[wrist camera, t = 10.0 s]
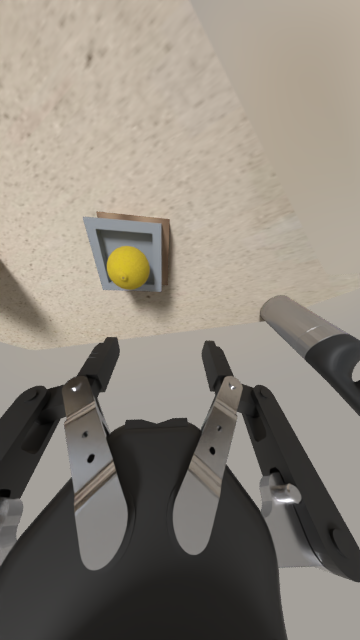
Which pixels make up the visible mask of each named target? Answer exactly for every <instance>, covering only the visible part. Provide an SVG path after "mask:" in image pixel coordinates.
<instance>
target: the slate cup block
mask: <svg viewBox="0 0 360 640" xmlns="http://www.w3.org/2000/svg"><path fill="white" fill-rule="evenodd" d="M83 220H84V224H85V227H86V231H87V235H88V238H89V242H90V245H91V249H92V252H93V256H94V259H95V263H96V266H97V270H98V274H99V277H100V281H101V284H102V288H103V290H126V289H123V288H120V287H118V286H117V285H116V284H114V283H113V281H112V280H111V279H110V277H109V275H108V272H107V261H108V258H109V256H110V254H111V253H112V252H113V251H114V250H115V249H117V248H119V247H122V246H131V247H135V248H137V249H139V250H140V251H141V252H142V253H143V254H144V255H145V256H146V258H147V260H148V262H149V266H150V273H149V276H148V279H147V280H146V282H145V283H144V284H143V285H142V286H141V287H139V288H137V289H133V290H126V291H156V292H161V289H162V224H161V223H150V222H139V221H129V220H118V219H107V218H94V217H83Z"/></svg>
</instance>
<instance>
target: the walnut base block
mask: <svg viewBox="0 0 360 640" xmlns="http://www.w3.org/2000/svg"><path fill="white" fill-rule="evenodd" d="M97 217H98V218H107V219H118V220H129V221H139V222H150V223H161V224H162V285H168V256H169V222H170V219H162V218H153V217H143V216H134V215H124V214H115V213H106V212H97Z"/></svg>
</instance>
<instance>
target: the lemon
mask: <svg viewBox="0 0 360 640" xmlns="http://www.w3.org/2000/svg"><path fill="white" fill-rule="evenodd" d="M107 272H108V275H109V277H110V279H111V280H112V281H113V283H114V284H116V285H117V286H118V287H120V288H123V289H126V290H133V289H137V288H139V287H141V286H142V285H143V284H144V283H145V282H146V280H147V279H148V276H149V273H150V266H149V262H148V260H147V258H146V256H145V255H144V254H143V253H142V252H141V251H140V250H139V249H137V248H135V247H131V246H122V247H119V248H117V249H115V250H114V251H113V252H112V253H111V254H110V256H109V258H108V261H107Z"/></svg>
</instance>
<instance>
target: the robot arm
mask: <svg viewBox="0 0 360 640" xmlns="http://www.w3.org/2000/svg"><path fill="white" fill-rule="evenodd" d="M260 314H261V317H262V318H263V319H264V320H265V321H266V322H267V323H268V324H269V325H270V326H271V327H272V328H273V329H274V330H275V331H276V332H277V333H278V334H279V335H280V336H281V337H282V338H283V339H284V340H285V341H286V342H287V343H288V344H289V345H290V346H291V347H292V348H293V349H294V350H296V352H297V353H298V354H299V355H300V356H302V358H304V359H305V360H306V361H307V362H308V363H309V364H310V365H311V366H312V367H313V368H314V369H315V370H316V371H317V372H318V373H319V374H320V375H321V376H322V377H323V378H324V379H325V380H326V381H327V382H328V383H329V384H330V385H331V386H332V387H333V388H334V389H335V390H336V391H337V392H338V393H339V394H340V396H341V397H342V398H343V399H344V400H345V401H346V402H347V403H348V404H349V405H350V406H351V407H352V408H353V409H354V410H355V412H356V413H357V414H358V415H359V416H360V380H359V381H357V382H353V380H352V372H353V369H354V367H355V366H356V364H357V363H358V362H359V361H360V340H358V339H356V338H355V337H353V336H351V335H350V334H348V333H346V332H345V331H343V330H341V329H340V328H338V327H337V326H335V325H333V324H331V323H329V322H328V321H326V320H325V319H323V318H322V317H320V316H318V315H317V314H315V313H313V312H312V311H310V310H308V309H307V308H305V307H303V306H302V305H300V304H298V303H297V302H295V301H294V300H292V299H290V298H289V297H287V296H284V295H280V296H276V297H274V298H272V299H270V300H269V301H267V302H266V303H265V304H264V305H263V307H262V309H261V312H260ZM119 353H120V349H119V344H118V340H117V337H107V338H106V339H105V341H104V343H99V344H98V345H97V346H96V347H95V348H94V349H93V351H92V352H91V354H90V355H89V358H88V359H87V360H86V362H85V364H84V365H83V367H82V368H81V370H80V372H79V373H78V375H77V376H76V377H73V378H72V379H70V380H68V381H67V382H66V383H65V384H64V385H61V386H57V387H54V388H50V389H46V388H45V387H44V386H35V387H32V388H30V389H28V390H26V391H25V392H23V393H22V394H21V395H20V396H19V397H18V398H17V399H16V400H15V401H14V403H13V404H12V405H11V406H10V407H9V409H8V410H7V411H6V412H5V414H4V415H3V416H2V417H1V418H0V640H288V639H287V634H286V629H285V624H284V618H283V611H282V605H281V596H280V584H279V569H278V568H285V567H311V566H313V567H316V568H319V569H322V570H324V571H327V572H330V573H333V574H336V575H338V576H341V577H344V578H347V579H349V580H352V581H355V582H360V550H359V547H358V545H357V543H356V542H355V540H354V538H353V536H352V534H351V533H350V531H349V529H348V527H347V525H346V524H345V522H344V520H343V518H342V516H341V515H340V513H339V511H338V509H337V508H336V506H335V504H334V502H333V500H332V499H331V497H330V495H329V494H328V492H327V490H326V488H325V486H324V484H323V483H322V481H321V479H320V477H319V475H318V474H317V472H316V470H315V468H314V467H313V465H312V463H311V461H310V459H309V458H308V456H307V454H306V452H305V451H304V449H303V447H302V445H301V443H300V442H299V440H298V438H297V436H296V434H295V433H294V431H293V429H292V427H291V425H290V424H289V422H288V420H287V418H286V417H285V415H284V413H283V411H282V410H281V408H280V406H279V404H278V402H277V400H276V399H275V397H274V395H273V394H272V392H271V391H270V390H269V389H268V388H266V387H265V386H262V385H256V386H255V387H254V388H252V387H249V386H247V385H243V384H241V382H240V381H239V380H238V379H237V378H235V377H234V376H233V373H232V371H231V369H230V366H229V364H228V362H227V359H226V357H225V355H224V352H223V350H222V349H221V348H220V347H217V346H216V345H215V343H214V341H205V343H204V347H203V350H202V360H203V364H204V368H205V371H206V376H207V380H208V384H209V388H210V391H215V398H214V400H213V402H212V405H211V407H210V409H209V411H208V414H207V416H206V418H205V421H204V423H203V425H202V427H201V430H200V429H199V428H197V427H196V426H195V425H193V424H191V423H189V422H187V418H172V419H170V420H167V421H164V422H161V423H158V424H156V423H152V422H149V421H145V420H126V422H125V425H123V426H121V427H119V428H117V429H115V430H114V431H113V432H111V433H110V430H109V428H108V425H107V423H106V421H105V418H104V415H103V412H102V410H101V407H100V404H99V401H98V398H97V397H98V395H99V393H100V392H105V390H106V388H107V385H108V383H109V380H110V378H111V375H112V372H113V370H114V367H115V365H116V362H117V360H118V357H119ZM236 412H240V413H242V415H243V418H244V421H245V424H246V427H247V430H248V433H249V436H250V439H251V442H252V445H253V448H254V451H255V454H256V457H257V460H258V463H259V466H260V469H261V472H262V475H263V477H262V478H261V480H260V493H261V498H262V509H261V512H260V510H259V508H258V507H257V506H256V504H255V503H254V501H253V500H252V499H251V497H250V496H249V495H248V493H247V492H246V490H245V489H244V488H243V487H242V485H241V484H240V482H239V481H238V480H237V478H236V477H235V476H234V474H233V473H232V471H231V470H230V469H229V467H228V466H227V465H226V462H227V457H228V454H229V450H230V445H231V442H232V438H233V433H234V429H235V426H236V422H237V415H236ZM63 417H66V418H67V419H66V421H65V422H64V429H65V435H66V442H67V448H68V454H69V461H70V468H71V474H72V477H71V478H70V480H69V481H68V482H67V483H66V484H65V485H64V486H63V488H62V489H61V490H60V491H59V492H58V493H57V494H56V496H55V497H54V498H53V499H52V500H51V501H50V503H49V504H48V505H47V506H46V507H45V508H44V510H43V511H42V512H41V513H40V514H39V515H38V516H37V518H36V519H35V520H34V521H33V522H32V523H31V524H30V526H29V527H28V528H27V529H26V530H25V532H24V533H23V534H22V535H21V536H20V538H19V539H18V540H17V539H16V532H17V527H18V524H19V522H20V518H21V516H22V512H23V503H22V501H21V500H20V498H21V496H22V494H23V492H24V490H25V488H26V486H27V484H28V482H29V480H30V478H31V476H32V474H33V472H34V470H35V468H36V466H37V464H38V462H39V460H40V458H41V456H42V454H43V452H44V450H45V448H46V447H47V445H48V443H49V441H50V439H51V437H52V435H53V433H54V431H55V429H56V427H57V425H58V423H59V421H60V419H61V418H63Z"/></svg>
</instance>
